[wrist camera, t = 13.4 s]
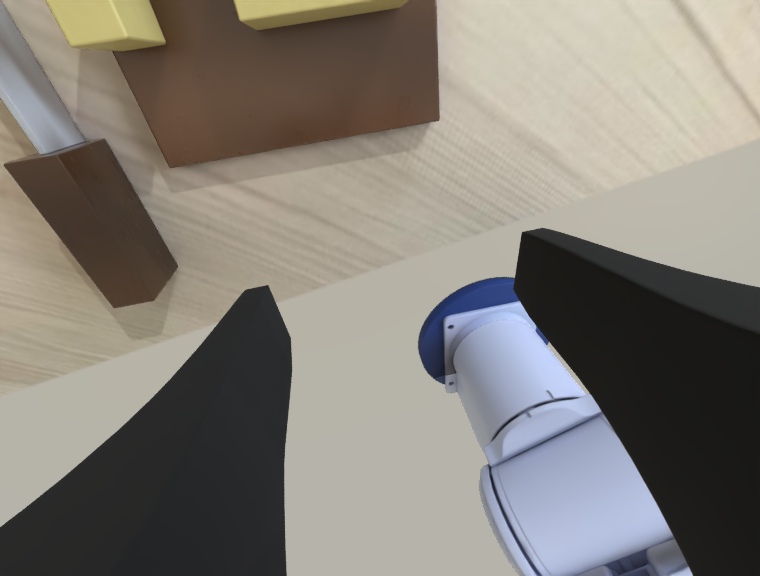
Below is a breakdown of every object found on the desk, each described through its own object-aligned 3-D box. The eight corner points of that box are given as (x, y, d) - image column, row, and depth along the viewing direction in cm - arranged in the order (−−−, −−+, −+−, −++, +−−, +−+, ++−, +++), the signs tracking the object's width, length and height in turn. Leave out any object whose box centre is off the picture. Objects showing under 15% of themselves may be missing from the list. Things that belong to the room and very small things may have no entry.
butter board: (434, 118, 17) (440, 120, 16) (177, 163, 16) (169, 168, 15) (424, -165, 12) (432, -183, 11) (45, -114, 11) (23, -128, 10)
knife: (178, 266, 19) (154, 301, 16) (143, 273, 19) (113, 308, 16) (-48, -129, 11) (-182, -200, 8) (-113, -121, 10) (-271, -188, 8)
